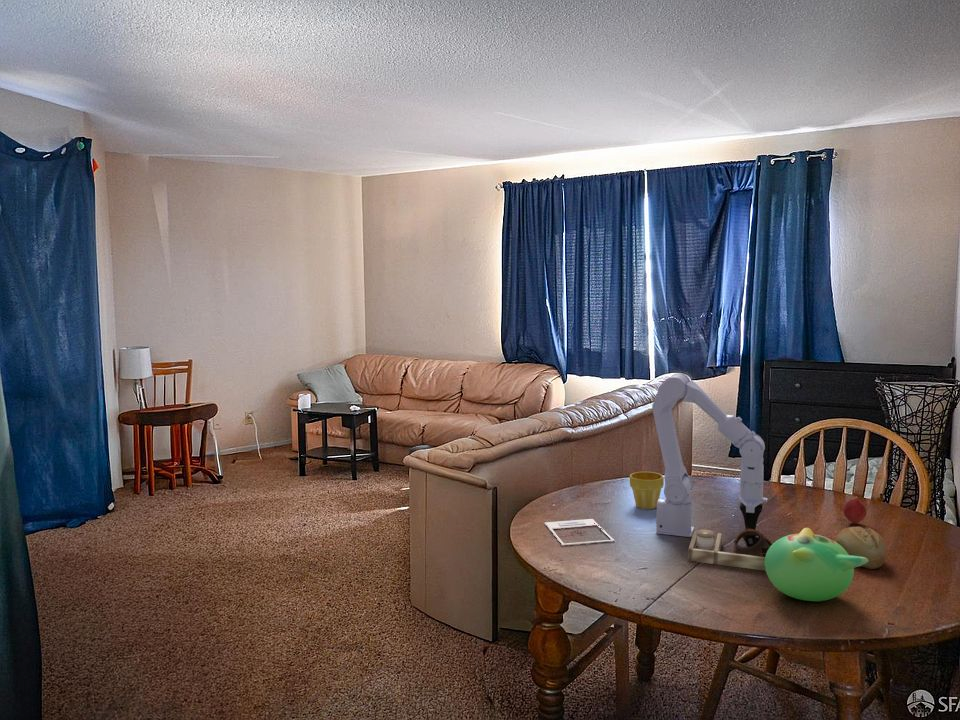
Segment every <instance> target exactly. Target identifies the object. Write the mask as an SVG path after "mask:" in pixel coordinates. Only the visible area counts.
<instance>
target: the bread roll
mask: <svg viewBox="0 0 960 720" xmlns="http://www.w3.org/2000/svg"><path fill="white" fill-rule="evenodd" d="M835 542H836V543H838V544H839V545H841V546H842V547H843V548H844V549H845V550H846V552H847V553H848V554H849V555H851V556H860V557H865V558H867V559H868V562H867V563H866V564H864V565H861V566H860V567H862V568H865V569H868V570H875V569H879V568H880V567H882V566H883V565H884V563H885V562H886V559H887V547H886V544H885V541H884V539H883V537H882V536H881V535H880V534H879V532H877V531H875V529H872V528H871V527H868V526H865V525H864V526H850V527H846V528H843V529H841V530H840V531H839V532H838V534H837V535H836V539H835Z"/></svg>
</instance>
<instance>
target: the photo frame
mask: <svg viewBox="0 0 960 720" xmlns="http://www.w3.org/2000/svg"><path fill="white" fill-rule="evenodd" d="M594 523H595V524H594ZM544 525H545V527H546V526H547V527H548V528H549V529H548V528H547V527H546V528H547V529H548V531H549V532H550V531H551V532H552V533H553V534H552V533H551V532H550V533H551V534H552V536H553V537H554V536H555V537H556V538H557V539H556V538H555V537H554V538H555V539H556V541H557V542H558V541H559V542H560V543H561V544H560V543H559V542H558V543H559V544H560V545H561V547H562V546H563V545H571V544H582V543H594V542H605V541H614V542H615V539H614V538H613V537H612V536H611V535H609V533H607V531H606V530H605V529H603V528H602V526H601V525H599V524H598V523H597V522H596V521H595V519H594V518H587V519H585V518H584V519H572V520H571V519H570V520H560V521H546V522H544ZM592 525H597V526H598V525H599V526H598V527H599V528H602V529H603V530H602V529H601V530H602V531H603V532H604V533H605V534H606V535H607V536H608V537H609V538H610V540H609V539H603V540H591V541H579V542H578V541H577V542H568V543H567V542H566V543H564V542H563V541H562V539H561V538H560V537H559V536H558V535H557V533H556V532H555V530H553V529H561V528H571V527H582V526H592ZM561 530H562V529H561ZM563 547H564V546H563Z"/></svg>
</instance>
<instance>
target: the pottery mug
mask: <svg viewBox="0 0 960 720" xmlns="http://www.w3.org/2000/svg"><path fill="white" fill-rule="evenodd" d="M741 539H743V541H744V543H745V546H746V547H745V546H744V547H743V546H741V545H739V541H741ZM733 543H734V547H733V553H736V554H744V555H752V556H761V557H764V555H763V554H766V553H767V551H768V549H769V548H770V546H771V545H772V544H773V543H772V541H771V540H770V539H769V538H768V537H767V536H766V535H764V534H763V533H761V531H759V530H757V529H755V530H754V529H751V528H747V529H746V528H745V529H744V530H743V531H740V532H739V533H738V534H737V535H736V536H735V537H734V540H733Z"/></svg>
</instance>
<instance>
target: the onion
mask: <svg viewBox="0 0 960 720" xmlns="http://www.w3.org/2000/svg"><path fill="white" fill-rule="evenodd" d="M842 511H843V515H844V517H845V518H846V519H847V520H848V521H849V522H851V523H852V524H853V525H857V524H858V523H860V522H862V521H863V520H864V519H865V518H866V517H867V513H868V512H867V508H866V506H865V504H863V502H862V501H860V500H859V497H858V496H854V497H853V498H851V499H850V500H848V501H846V502H845V504H844V506H843V508H842Z"/></svg>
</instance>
